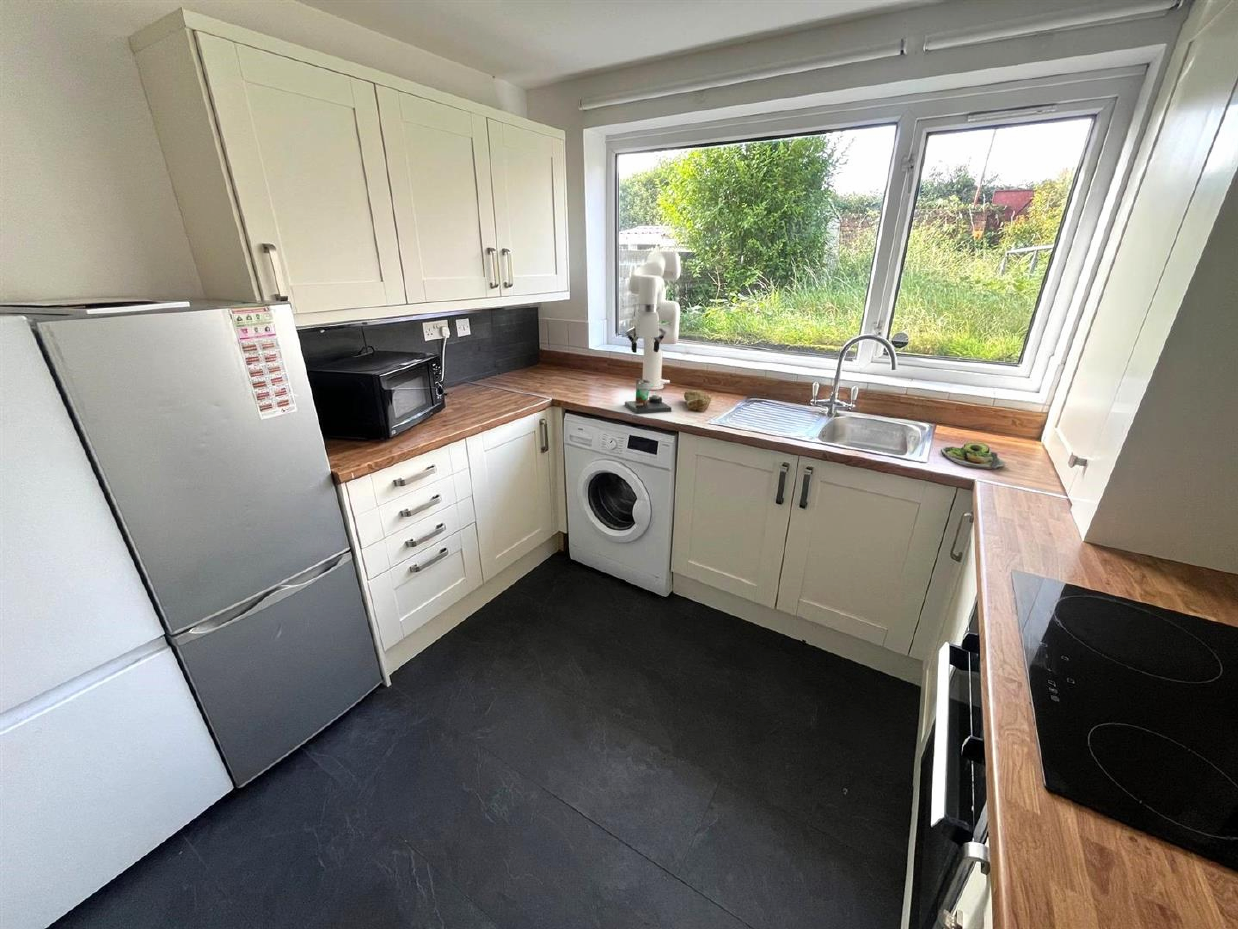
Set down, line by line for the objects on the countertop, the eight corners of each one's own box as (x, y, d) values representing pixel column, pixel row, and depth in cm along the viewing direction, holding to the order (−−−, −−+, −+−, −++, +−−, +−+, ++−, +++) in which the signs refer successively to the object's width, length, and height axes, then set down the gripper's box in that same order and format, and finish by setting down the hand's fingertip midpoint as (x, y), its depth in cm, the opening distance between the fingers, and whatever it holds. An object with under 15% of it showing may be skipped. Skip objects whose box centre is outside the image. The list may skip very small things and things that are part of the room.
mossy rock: (709, 415, 213) (714, 396, 229) (707, 399, 209) (712, 380, 225) (679, 417, 217) (686, 398, 233) (676, 401, 213) (684, 382, 229)
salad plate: (1021, 475, 155) (1026, 461, 154) (959, 470, 158) (963, 456, 156) (989, 454, 173) (993, 442, 171) (934, 450, 176) (937, 437, 174)
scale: (658, 403, 225) (658, 395, 224) (671, 411, 212) (672, 403, 211) (624, 405, 219) (624, 397, 218) (636, 414, 207) (636, 405, 206)
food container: (650, 408, 209) (651, 385, 205) (635, 408, 209) (637, 384, 205) (649, 401, 220) (650, 378, 216) (635, 400, 220) (636, 378, 216)
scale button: (657, 397, 222) (657, 393, 221) (659, 399, 219) (659, 395, 219) (651, 397, 221) (651, 394, 220) (653, 399, 219) (654, 395, 218)
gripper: (663, 308, 206) (660, 350, 212) (623, 307, 200) (622, 351, 206) (670, 309, 199) (667, 353, 205) (630, 309, 194) (628, 354, 200)
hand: (645, 352), depth 206 cm, fingers open, 9 cm apart
